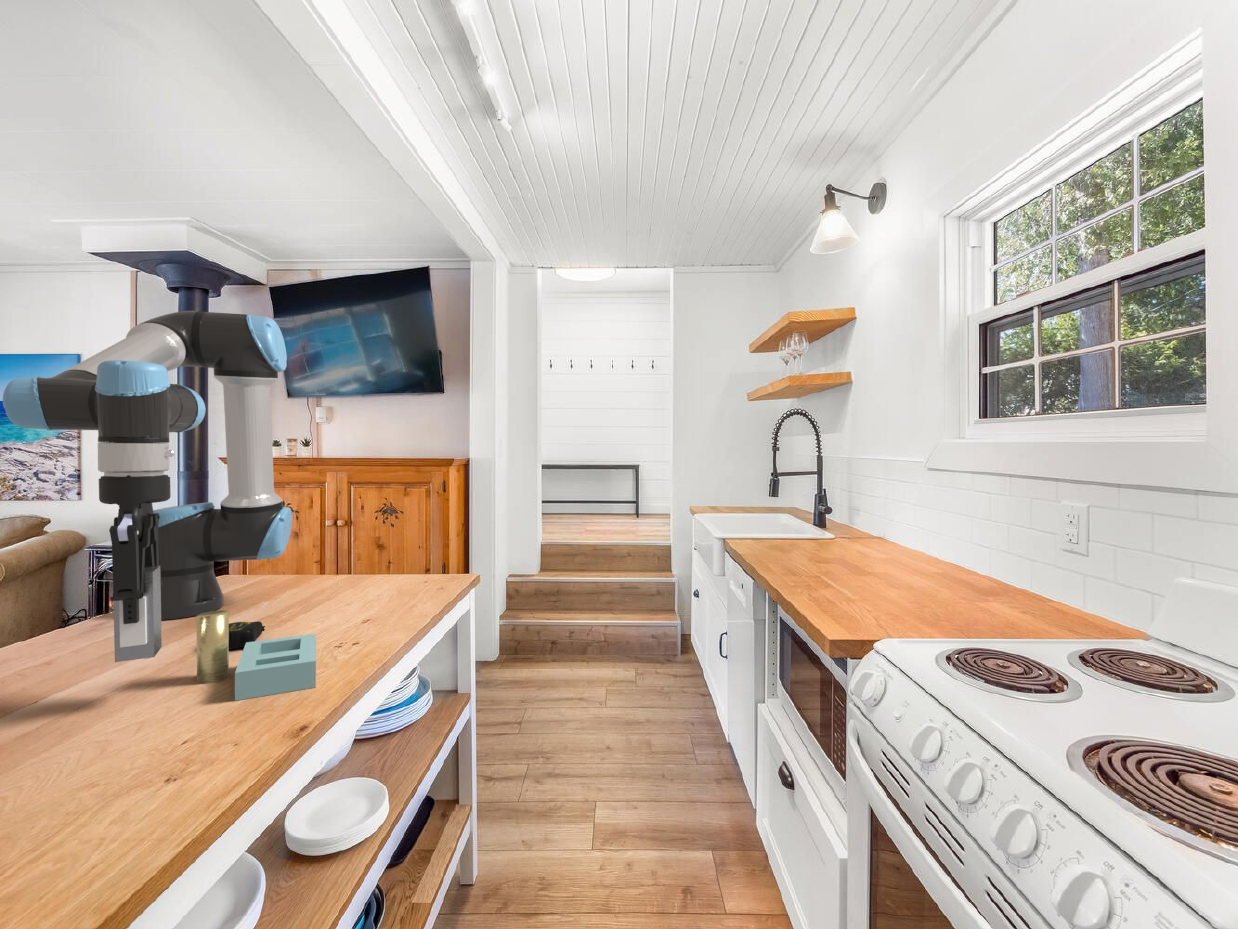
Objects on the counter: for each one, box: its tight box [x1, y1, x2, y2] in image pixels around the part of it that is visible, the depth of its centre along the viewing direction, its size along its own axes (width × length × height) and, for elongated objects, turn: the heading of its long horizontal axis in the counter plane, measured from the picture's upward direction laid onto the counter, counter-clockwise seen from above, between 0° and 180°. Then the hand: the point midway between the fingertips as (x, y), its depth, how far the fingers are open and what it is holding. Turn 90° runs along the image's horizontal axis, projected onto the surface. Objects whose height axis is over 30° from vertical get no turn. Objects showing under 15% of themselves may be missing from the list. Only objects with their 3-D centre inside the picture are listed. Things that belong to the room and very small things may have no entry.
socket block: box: [234, 633, 317, 702], centre depth 87 cm, size 14×10×4 cm
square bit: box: [113, 566, 163, 663], centre depth 78 cm, size 4×4×12 cm
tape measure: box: [229, 621, 266, 650], centre depth 101 cm, size 7×7×4 cm
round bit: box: [196, 609, 230, 684], centre depth 86 cm, size 4×4×10 cm
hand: (138, 638), depth 78 cm, fingers closed on square bit, 4 cm apart
